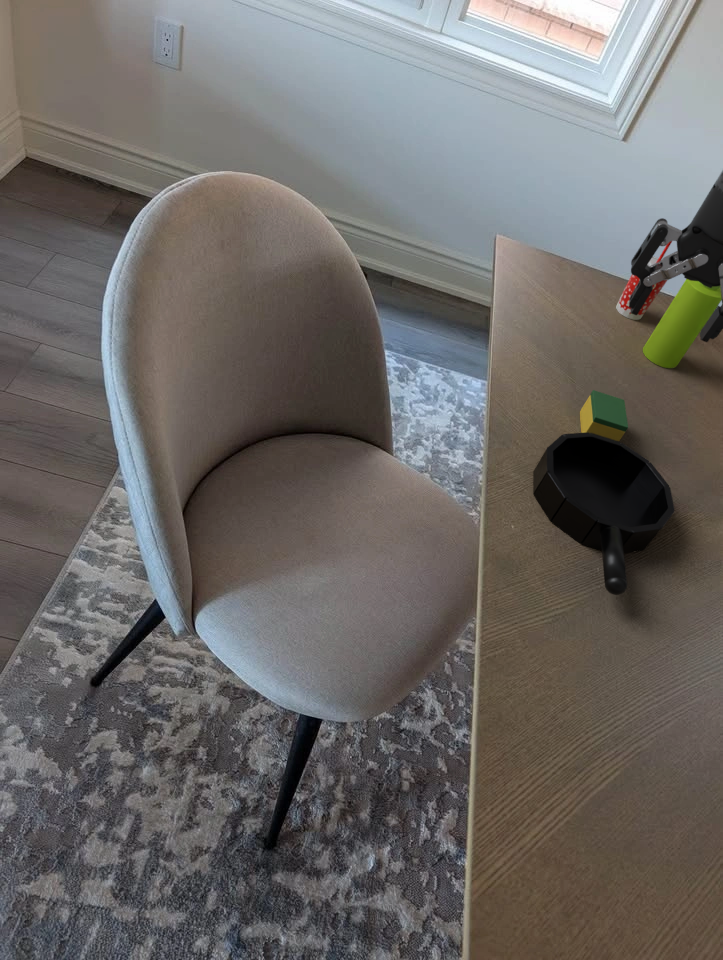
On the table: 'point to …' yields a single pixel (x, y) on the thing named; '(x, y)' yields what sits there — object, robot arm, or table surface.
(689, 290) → the soap dispenser
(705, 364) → the table surface
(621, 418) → the sponge
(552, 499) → the pan
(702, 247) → the robot arm
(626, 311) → the beverage cup
